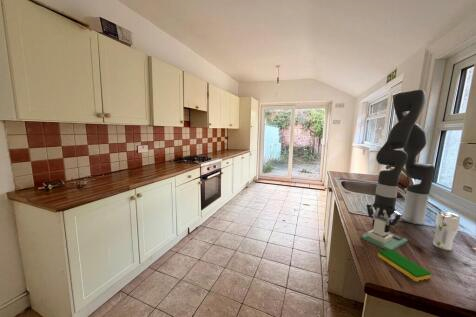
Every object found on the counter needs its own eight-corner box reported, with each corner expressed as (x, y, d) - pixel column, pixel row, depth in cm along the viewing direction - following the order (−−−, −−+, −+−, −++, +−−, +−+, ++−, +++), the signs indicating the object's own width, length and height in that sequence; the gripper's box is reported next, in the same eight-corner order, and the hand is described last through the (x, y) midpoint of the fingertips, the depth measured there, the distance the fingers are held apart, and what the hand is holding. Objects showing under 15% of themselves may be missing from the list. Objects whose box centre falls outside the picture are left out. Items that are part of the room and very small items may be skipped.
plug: (377, 230, 92) (379, 214, 91) (387, 234, 88) (389, 217, 87) (372, 232, 90) (375, 215, 89) (382, 236, 86) (385, 219, 85)
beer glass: (450, 253, 81) (457, 219, 79) (428, 244, 87) (434, 212, 85) (456, 248, 85) (463, 216, 82) (434, 240, 91) (440, 210, 88)
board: (378, 229, 99) (378, 224, 98) (407, 241, 89) (408, 235, 88) (360, 237, 91) (361, 231, 91) (390, 252, 81) (391, 245, 80)
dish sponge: (390, 254, 80) (391, 248, 80) (430, 279, 67) (431, 272, 67) (377, 256, 78) (377, 251, 78) (415, 282, 65) (416, 276, 65)
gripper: (409, 197, 82) (403, 235, 85) (372, 188, 94) (368, 221, 97) (401, 200, 78) (395, 239, 81) (364, 190, 91) (360, 224, 93)
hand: (380, 229), depth 89 cm, fingers closed on plug, 4 cm apart
